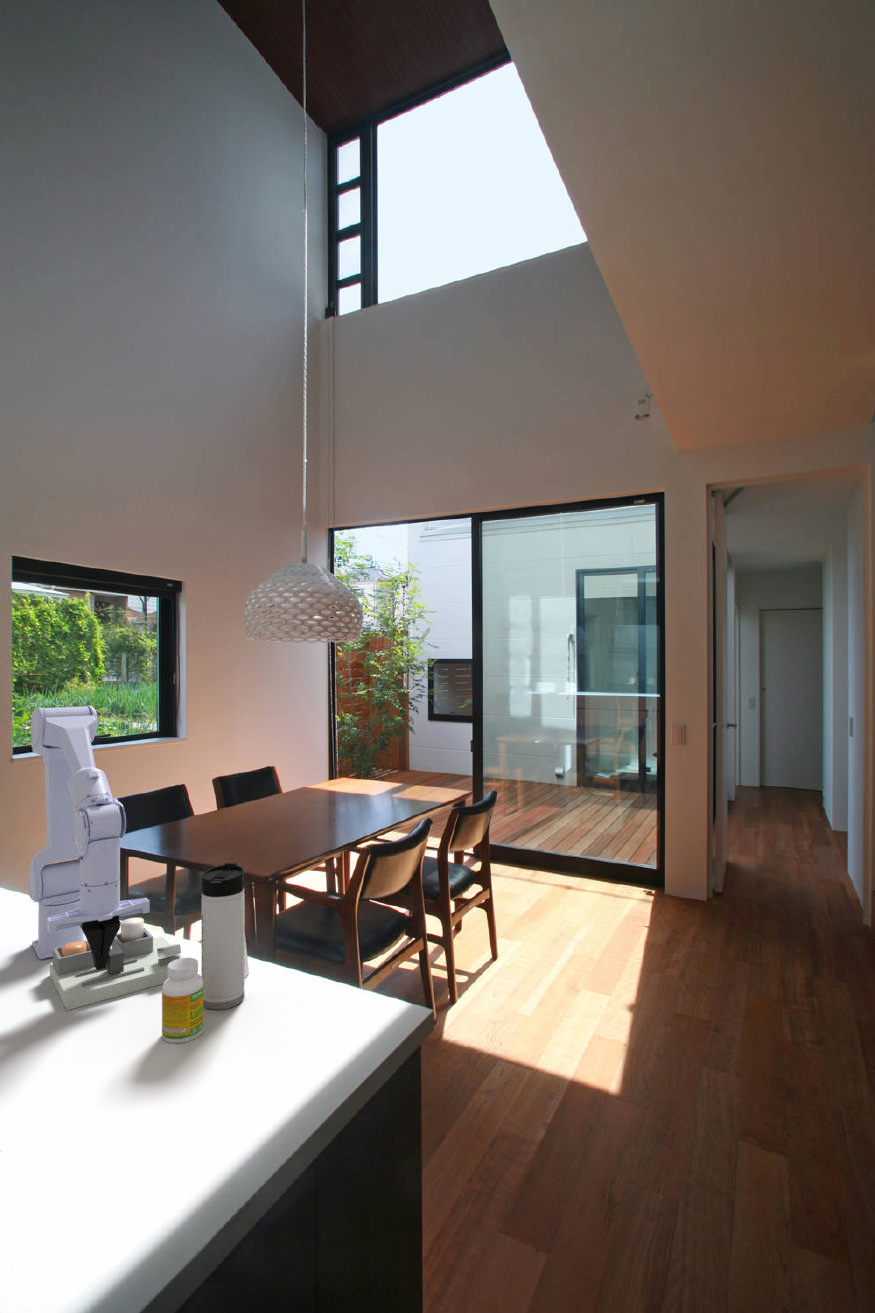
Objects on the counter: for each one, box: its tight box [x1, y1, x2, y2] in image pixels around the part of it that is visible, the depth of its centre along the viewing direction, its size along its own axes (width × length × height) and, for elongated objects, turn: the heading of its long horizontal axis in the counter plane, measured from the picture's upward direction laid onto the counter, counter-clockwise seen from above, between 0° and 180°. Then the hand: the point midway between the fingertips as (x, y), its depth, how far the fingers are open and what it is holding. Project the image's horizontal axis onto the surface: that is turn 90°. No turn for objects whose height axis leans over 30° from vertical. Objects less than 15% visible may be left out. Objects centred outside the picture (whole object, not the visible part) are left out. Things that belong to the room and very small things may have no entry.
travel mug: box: [201, 862, 245, 1011], centre depth 104 cm, size 6×7×20 cm
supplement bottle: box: [161, 957, 204, 1044], centre depth 94 cm, size 5×5×10 cm
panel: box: [49, 927, 184, 1011], centre depth 113 cm, size 15×18×5 cm
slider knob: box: [106, 947, 124, 975], centre depth 109 cm, size 3×2×3 cm
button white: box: [120, 917, 145, 943], centre depth 118 cm, size 4×4×3 cm
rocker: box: [157, 943, 182, 957], centre depth 113 cm, size 4×3×1 cm, turn 38°
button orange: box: [62, 941, 86, 957], centre depth 112 cm, size 4×4×3 cm
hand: (99, 967), depth 108 cm, fingers closed
